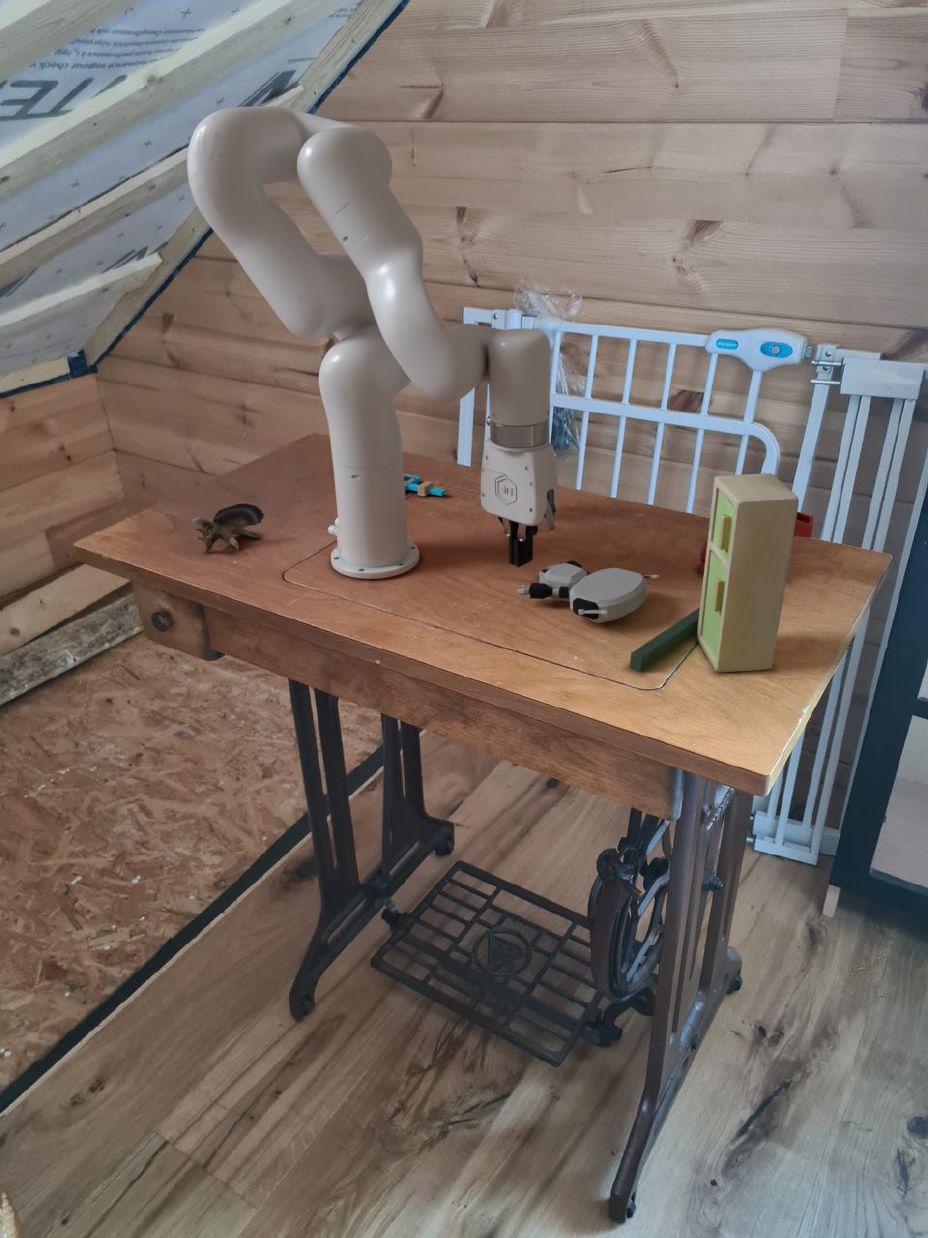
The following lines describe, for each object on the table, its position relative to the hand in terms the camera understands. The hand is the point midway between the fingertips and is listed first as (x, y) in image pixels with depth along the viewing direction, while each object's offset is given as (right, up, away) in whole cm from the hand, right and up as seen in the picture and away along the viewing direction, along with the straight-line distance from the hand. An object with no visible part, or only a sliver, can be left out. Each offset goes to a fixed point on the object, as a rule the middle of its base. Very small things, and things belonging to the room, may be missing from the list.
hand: (521, 562), depth 125 cm
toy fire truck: (+31, -2, 0) cm, 31 cm away
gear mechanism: (-20, +14, +31) cm, 40 cm away
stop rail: (+17, -11, -15) cm, 25 cm away
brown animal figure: (-43, +3, +12) cm, 44 cm away
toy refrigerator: (+23, -12, -17) cm, 31 cm away
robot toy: (+8, -6, -6) cm, 12 cm away
